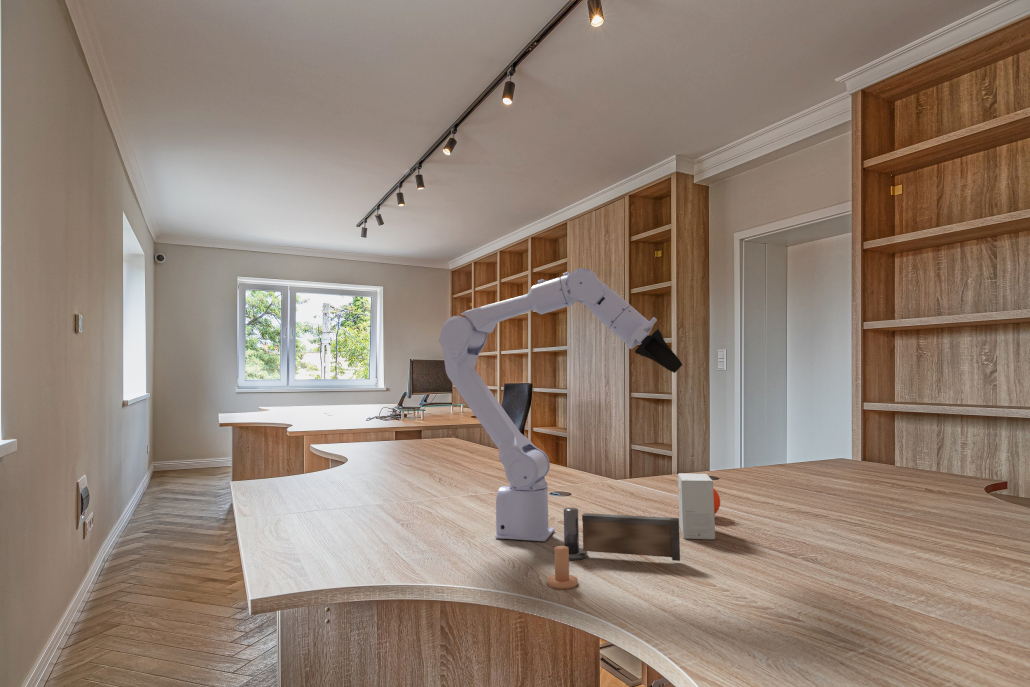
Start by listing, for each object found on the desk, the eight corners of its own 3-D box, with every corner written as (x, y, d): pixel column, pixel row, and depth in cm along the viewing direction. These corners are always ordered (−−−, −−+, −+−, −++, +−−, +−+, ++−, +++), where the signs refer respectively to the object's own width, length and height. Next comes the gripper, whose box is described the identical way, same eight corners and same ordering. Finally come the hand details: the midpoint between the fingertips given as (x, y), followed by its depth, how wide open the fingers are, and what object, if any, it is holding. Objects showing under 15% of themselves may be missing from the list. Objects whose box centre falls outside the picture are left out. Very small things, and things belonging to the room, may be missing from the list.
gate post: (553, 558, 93) (552, 512, 93) (560, 549, 98) (559, 505, 98) (584, 561, 91) (583, 513, 92) (589, 551, 96) (588, 506, 97)
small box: (715, 540, 102) (713, 480, 102) (683, 539, 103) (681, 480, 103) (709, 528, 109) (707, 473, 110) (679, 527, 111) (677, 472, 111)
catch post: (543, 587, 80) (543, 551, 81) (550, 576, 85) (550, 542, 85) (574, 590, 79) (573, 553, 79) (580, 579, 83) (579, 544, 84)
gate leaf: (582, 554, 93) (582, 515, 94) (584, 551, 95) (583, 513, 95) (680, 561, 89) (678, 520, 89) (680, 557, 90) (678, 518, 91)
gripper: (631, 295, 96) (694, 349, 93) (638, 305, 110) (693, 353, 107) (603, 327, 97) (664, 381, 94) (614, 333, 111) (667, 381, 108)
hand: (678, 368), depth 101 cm, fingers open, 7 cm apart
